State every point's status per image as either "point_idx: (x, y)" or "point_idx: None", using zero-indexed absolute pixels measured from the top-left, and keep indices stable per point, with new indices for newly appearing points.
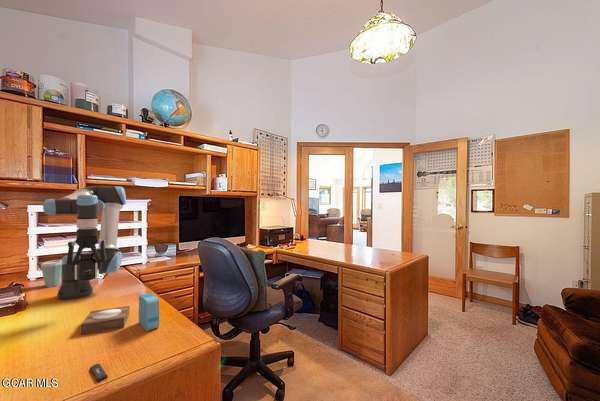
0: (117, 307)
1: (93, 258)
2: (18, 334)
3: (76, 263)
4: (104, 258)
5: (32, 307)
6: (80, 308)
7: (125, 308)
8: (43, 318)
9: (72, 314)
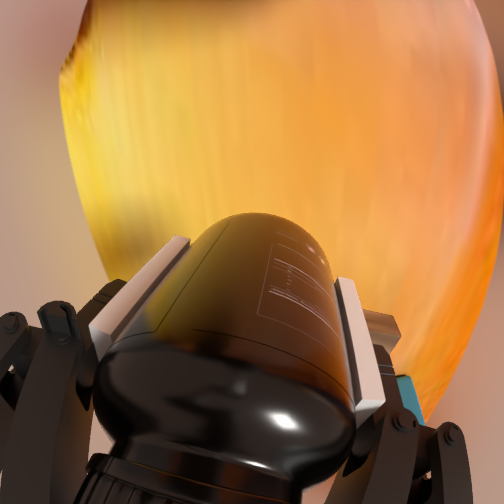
0: (369, 330)
1: (303, 492)
2: (120, 264)
3: (88, 353)
4: (414, 485)
5: (103, 15)
6: (251, 108)
7: None
8: (140, 156)
9: (227, 174)
